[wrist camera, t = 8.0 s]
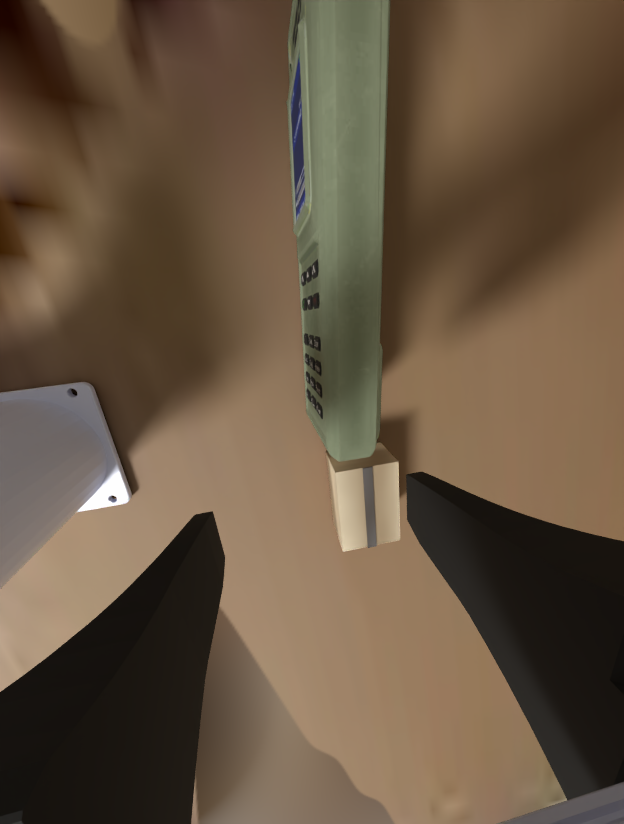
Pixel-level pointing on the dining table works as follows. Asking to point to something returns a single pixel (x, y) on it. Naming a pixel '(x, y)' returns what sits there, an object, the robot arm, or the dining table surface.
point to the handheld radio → (340, 210)
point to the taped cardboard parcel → (365, 499)
